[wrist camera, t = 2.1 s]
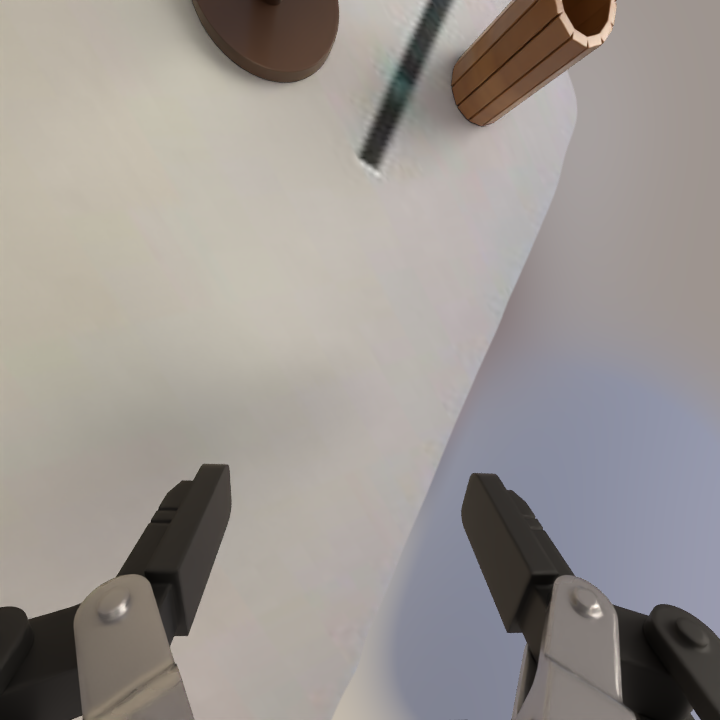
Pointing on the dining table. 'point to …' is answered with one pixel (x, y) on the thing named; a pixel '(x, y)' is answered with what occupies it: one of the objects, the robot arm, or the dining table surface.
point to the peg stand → (272, 34)
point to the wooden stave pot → (526, 53)
